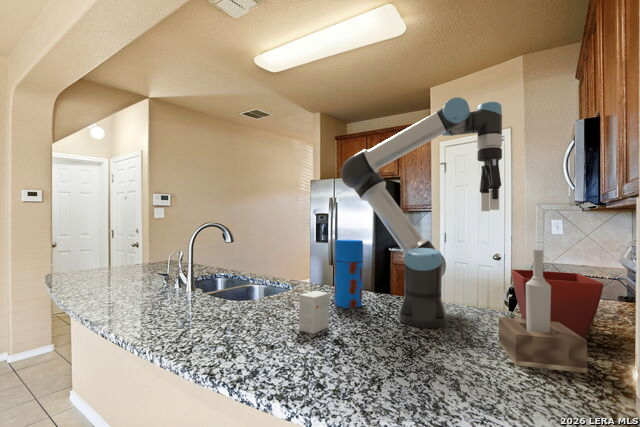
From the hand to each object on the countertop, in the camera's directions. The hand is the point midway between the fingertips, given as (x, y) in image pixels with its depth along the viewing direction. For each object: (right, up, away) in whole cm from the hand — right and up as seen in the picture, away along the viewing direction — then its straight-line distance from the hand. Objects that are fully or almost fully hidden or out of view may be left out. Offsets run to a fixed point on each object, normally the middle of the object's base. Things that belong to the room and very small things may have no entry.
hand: (489, 210), depth 113 cm
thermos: (-47, -37, +16) cm, 62 cm away
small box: (-60, -36, -14) cm, 71 cm away
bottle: (-5, -35, -32) cm, 48 cm away
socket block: (-5, -36, -32) cm, 49 cm away
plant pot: (+13, -37, -12) cm, 41 cm away
